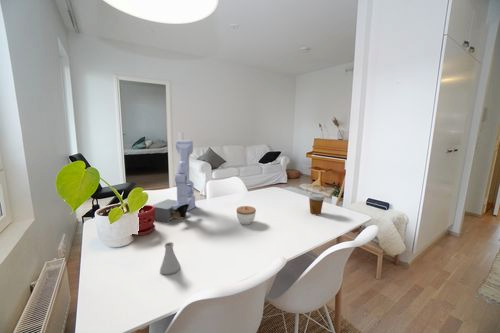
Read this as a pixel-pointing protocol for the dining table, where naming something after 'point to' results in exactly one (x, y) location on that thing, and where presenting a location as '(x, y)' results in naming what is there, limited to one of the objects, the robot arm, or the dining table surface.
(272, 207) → the dining table surface
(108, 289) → the dining table surface
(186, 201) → the robot arm
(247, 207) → the lidded jar
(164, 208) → the grey slotted box
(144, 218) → the plant pot
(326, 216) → the dining table surface
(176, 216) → the tan t-shaped block
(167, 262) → the flask
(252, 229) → the dining table surface
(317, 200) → the disposable coffee cup
